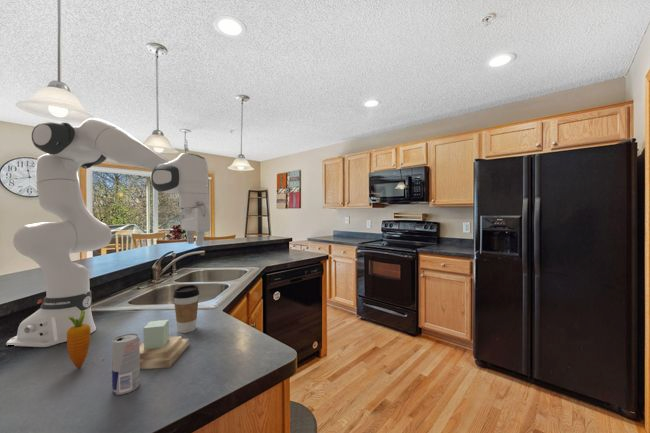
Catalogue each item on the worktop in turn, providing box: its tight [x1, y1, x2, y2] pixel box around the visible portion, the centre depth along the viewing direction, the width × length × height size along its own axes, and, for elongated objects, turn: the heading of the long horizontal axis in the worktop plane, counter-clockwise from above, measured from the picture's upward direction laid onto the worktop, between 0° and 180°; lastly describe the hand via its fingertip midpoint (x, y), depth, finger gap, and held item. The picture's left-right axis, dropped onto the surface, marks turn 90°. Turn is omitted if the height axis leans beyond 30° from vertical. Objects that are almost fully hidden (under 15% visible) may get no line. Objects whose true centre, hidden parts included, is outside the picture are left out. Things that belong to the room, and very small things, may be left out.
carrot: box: [66, 311, 91, 369], centre depth 75 cm, size 5×5×15 cm
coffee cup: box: [172, 284, 200, 334], centre depth 100 cm, size 8×8×15 cm
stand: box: [139, 335, 190, 370], centre depth 81 cm, size 13×13×4 cm
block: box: [143, 319, 170, 350], centre depth 81 cm, size 5×5×6 cm
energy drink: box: [111, 333, 141, 396], centre depth 66 cm, size 5×5×12 cm
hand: (194, 244), depth 92 cm, fingers open, 8 cm apart
